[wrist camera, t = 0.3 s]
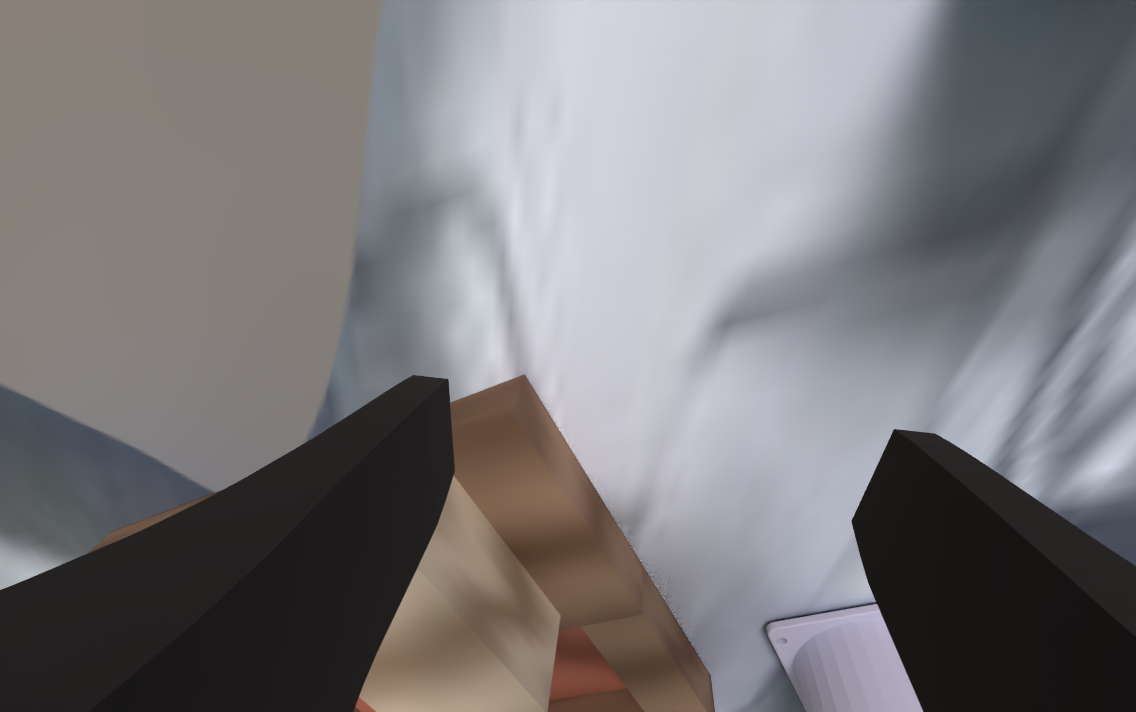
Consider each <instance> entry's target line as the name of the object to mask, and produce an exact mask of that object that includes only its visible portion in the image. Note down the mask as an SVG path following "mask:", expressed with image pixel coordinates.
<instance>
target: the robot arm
mask: <svg viewBox="0 0 1136 712" xmlns="http://www.w3.org/2000/svg"><path fill="white" fill-rule="evenodd" d="M454 473H455V464H454V450H453V437H452V423H451V409H450V396H449V382H448V379H443V378H434V377H425V376H416V375H413V376H411V377H409V378H408V379H406V380H404V381H402V382H401V383H399V384H397V385H396V386H394V387H393V388H391V389H389V390H388V391H386V392H385V393H383V394H382V395H380V396H379V397H377V398H376V399H374V400H372V401H371V402H369V403H368V404H366V405H365V406H363V407H362V408H360V409H359V410H357V411H355V412H354V413H352V414H351V415H349V416H348V417H346V418H344V419H343V420H341V421H340V422H338V423H337V424H335V425H333V426H332V427H330V428H329V429H327V430H325V431H324V432H322V433H321V434H319V435H318V436H316V437H314V438H313V439H311V440H310V441H308V442H306V443H305V444H303V445H301V446H299V447H298V448H296V449H294V450H293V451H291V452H289V453H288V454H286V455H284V456H282V457H280V458H279V459H277V460H275V461H273V462H272V463H270V464H268V465H267V466H265V467H263V468H261V469H260V470H258V471H256V472H254V473H253V474H251V475H249V476H248V477H246V478H244V479H242V480H241V481H239V482H237V483H235V484H233V485H231V486H229V487H228V488H226V489H224V490H222V491H220V492H218V493H216V494H214V495H212V496H210V497H208V498H206V499H205V500H203V501H201V502H199V503H197V504H195V505H193V506H191V507H188V508H186V509H184V510H182V511H180V512H178V513H176V514H174V515H172V516H170V517H168V518H166V519H164V520H162V521H160V522H158V523H156V524H154V525H152V526H149V527H147V528H145V529H143V530H141V531H139V532H136V533H134V534H132V535H130V536H128V537H125V538H123V539H121V540H118V541H116V542H114V543H111V544H109V545H107V546H104V547H102V548H100V549H97V550H95V551H93V552H90V553H88V554H86V555H83V556H81V557H79V558H76V559H74V560H72V561H69V562H67V563H65V564H62V565H60V566H58V567H55V568H53V569H51V570H48V571H46V572H44V573H41V574H39V575H37V576H34V577H32V578H30V579H27V580H25V581H22V582H20V583H17V584H15V585H12V586H10V587H7V588H5V589H2V590H0V712H354V709H355V706H356V704H357V701H358V698H359V696H360V693H361V690H362V687H363V685H364V682H365V680H366V678H367V675H368V673H369V671H370V668H371V666H372V664H373V661H374V659H375V657H376V654H377V652H378V650H379V648H380V646H381V644H382V641H383V639H384V637H385V635H386V633H387V631H388V629H389V627H390V625H391V623H392V620H393V618H394V616H395V614H396V612H397V610H398V608H399V606H400V604H401V602H402V599H403V597H404V595H405V593H406V591H407V589H408V587H409V585H410V583H411V581H412V578H413V576H414V574H415V572H416V570H417V568H418V566H419V564H420V562H421V559H422V557H423V555H424V553H425V551H426V549H427V547H428V544H429V542H430V540H431V538H432V536H433V534H434V531H435V529H436V527H437V525H438V522H439V519H440V516H441V513H442V510H443V507H444V504H445V502H446V498H447V495H448V492H449V489H450V486H451V483H452V479H453V476H454ZM852 525H853V529H854V533H855V537H856V541H857V545H858V549H859V553H860V556H861V560H862V563H863V566H864V570H865V573H866V577H867V580H868V583H869V585H870V588H871V590H872V593H873V595H874V598H875V600H876V603H877V604H873V605H867V606H861V607H856V608H850V609H844V610H839V611H833V612H827V613H822V614H816V615H810V616H805V617H799V618H793V619H787V620H782V621H776V622H772V623H770V624H768V625H767V627H766V629H767V634H768V637H769V639H770V641H771V643H772V645H773V647H774V649H775V651H776V653H777V655H778V657H779V659H780V661H781V663H782V665H783V667H784V669H785V671H786V673H787V674H788V676H789V678H790V680H791V682H792V684H793V686H794V688H795V690H796V692H797V694H798V696H799V698H800V700H801V702H802V704H803V706H804V709H805V712H1136V566H1135V565H1133V564H1132V563H1130V562H1129V561H1127V560H1125V559H1124V558H1122V557H1121V556H1119V555H1118V554H1116V553H1115V552H1113V551H1112V550H1110V549H1109V548H1107V547H1106V546H1104V545H1103V544H1101V543H1100V542H1098V541H1097V540H1095V539H1094V538H1092V537H1091V536H1089V535H1088V534H1086V533H1085V532H1083V531H1082V530H1080V529H1079V528H1077V527H1076V526H1074V525H1073V524H1072V523H1070V522H1069V521H1067V520H1066V519H1064V518H1063V517H1061V516H1060V515H1058V514H1057V513H1055V512H1054V511H1052V510H1051V509H1049V508H1048V507H1047V506H1045V505H1044V504H1042V503H1041V502H1039V501H1038V500H1036V499H1035V498H1033V497H1032V496H1030V495H1029V494H1028V493H1026V492H1025V491H1023V490H1022V489H1020V488H1019V487H1017V486H1016V485H1014V484H1013V483H1011V482H1010V481H1009V480H1007V479H1006V478H1004V477H1003V476H1001V475H1000V474H998V473H997V472H995V471H994V470H992V469H991V468H989V467H988V466H986V465H985V464H983V463H982V462H980V461H979V460H977V459H976V458H974V457H973V456H971V455H970V454H968V453H967V452H965V451H963V450H962V449H960V448H959V447H957V446H955V445H954V444H952V443H950V442H949V441H947V440H945V439H943V438H942V437H940V436H938V435H936V434H933V433H924V432H915V431H906V430H897V429H894V431H893V433H892V435H891V437H890V439H889V442H888V444H887V446H886V448H885V450H884V452H883V454H882V457H881V459H880V461H879V463H878V465H877V467H876V470H875V472H874V474H873V476H872V478H871V480H870V482H869V485H868V487H867V489H866V491H865V493H864V495H863V497H862V500H861V502H860V504H859V506H858V508H857V510H856V513H855V515H854V517H853V519H852Z"/></svg>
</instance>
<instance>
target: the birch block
mask: <svg viewBox="0 0 1136 712" xmlns="http://www.w3.org/2000/svg"><path fill="white" fill-rule="evenodd" d="M560 617H561V615H560V614H559V613H558V611H557V610H556V609H555V607H554V606H553V605H552V603H551V602H550V601H549V600H548V598H547V597H546V596H545V594H544V593H543V592H542V590H541V589H540V588H539V586H538V585H537V584H536V583H535V581H534V580H533V579H532V577H531V576H530V575H529V573H528V572H527V571H526V569H525V568H524V567H523V566H522V564H521V563H520V562H519V560H518V559H517V558H516V556H515V555H514V554H513V552H512V551H511V550H510V549H509V547H508V546H507V545H506V543H505V542H504V541H503V539H502V538H501V537H500V535H499V534H498V533H497V532H496V530H495V529H494V528H493V526H492V525H491V524H490V522H489V521H488V520H487V518H486V517H485V516H484V515H483V513H482V512H481V511H480V509H479V508H478V507H477V505H476V504H475V503H474V501H473V500H472V499H471V498H470V496H469V495H468V494H467V492H466V491H465V490H464V488H463V487H462V486H461V484H460V483H459V482H458V481H457V479H456V478H455V477H454V476H453V479H452V483H451V486H450V489H449V492H448V495H447V498H446V502H445V504H444V507H443V510H442V513H441V516H440V519H439V522H438V525H437V527H436V529H435V531H434V534H433V536H432V538H431V540H430V542H429V544H428V547H427V549H426V551H425V553H424V555H423V557H422V559H421V562H420V564H419V566H418V568H417V570H416V572H415V574H414V576H413V578H412V581H411V583H410V585H409V587H408V589H407V591H406V593H405V595H404V597H403V599H402V602H401V604H400V606H399V608H398V610H397V612H396V614H395V616H394V618H393V620H392V623H391V625H390V627H389V629H388V631H387V633H386V635H385V637H384V639H383V641H382V644H381V646H380V648H379V650H378V652H377V654H376V657H375V659H374V661H373V664H372V666H371V668H370V671H369V673H368V675H367V678H366V680H365V682H364V685H363V687H362V690H361V693H360V696H359V697H360V698H361V699H362V700H363V701H364V702H366V703H367V704H368V705H369V706H370V707H371V708H372V709H374V710H375V711H376V712H548V705H549V697H550V690H551V683H552V675H553V668H554V661H555V653H556V646H557V639H558V631H559V624H560Z"/></svg>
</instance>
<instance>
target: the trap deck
mask: <svg viewBox="0 0 1136 712" xmlns="http://www.w3.org/2000/svg"><path fill="white" fill-rule="evenodd" d="M450 409H451V423H452V437H453V450H454V464H455V473H454V477H455V478H456V479H457V481H458V482H459V483H460V484H461V486H462V487H463V488H464V490H465V491H466V492H467V494H468V495H469V496H470V498H471V499H472V500H473V501H474V503H475V504H476V505H477V507H478V508H479V509H480V511H481V512H482V513H483V515H484V516H485V517H486V518H487V520H488V521H489V522H490V524H491V525H492V526H493V528H494V529H495V530H496V532H497V533H498V534H499V535H500V537H501V538H502V539H503V541H504V542H505V543H506V545H507V546H508V547H509V549H510V550H511V551H512V552H513V554H514V555H515V556H516V558H517V559H518V560H519V562H520V563H521V564H522V566H523V567H524V568H525V569H526V571H527V572H528V573H529V575H530V576H531V577H532V579H533V580H534V581H535V583H536V584H537V585H538V586H539V588H540V589H541V590H542V592H543V593H544V594H545V596H546V597H547V598H548V600H549V601H550V602H551V603H552V605H553V606H554V607H555V609H556V610H557V611H558V613H559V614H560V615H561V617H560V624H559V631H558V639H557V646H556V653H555V661H554V668H553V675H552V683H551V690H550V697H549V705H548V712H715V708H714V699H713V691H712V682H711V675H710V674H709V672H708V671H707V669H706V667H705V666H704V664H703V663H702V661H701V659H700V658H699V656H698V654H697V653H696V651H695V650H694V648H693V646H692V645H691V643H690V641H689V640H688V638H687V637H686V635H685V633H684V632H683V630H682V629H681V627H680V625H679V624H678V622H677V620H676V619H675V617H674V616H673V614H672V612H671V611H670V609H669V607H668V606H667V604H666V603H665V601H664V599H663V598H662V596H661V595H660V593H659V591H658V590H657V588H656V586H655V585H654V583H653V582H652V580H651V578H650V577H649V575H648V573H647V572H646V570H645V569H644V567H643V565H642V564H641V562H640V561H639V559H638V557H637V556H636V554H635V552H634V551H633V549H632V548H631V546H630V544H629V543H628V541H627V539H626V538H625V536H624V535H623V533H622V531H621V530H620V528H619V527H618V525H617V523H616V522H615V520H614V518H613V517H612V515H611V514H610V512H609V510H608V509H607V507H606V505H605V504H604V502H603V501H602V499H601V497H600V496H599V494H598V493H597V491H596V489H595V488H594V486H593V484H592V483H591V481H590V480H589V478H588V476H587V475H586V473H585V471H584V470H583V468H582V467H581V465H580V463H579V462H578V460H577V459H576V457H575V455H574V454H573V452H572V450H571V449H570V447H569V446H568V444H567V442H566V441H565V439H564V437H563V436H562V434H561V433H560V431H559V429H558V428H557V426H556V425H555V423H554V421H553V420H552V418H551V416H550V415H549V413H548V412H547V410H546V408H545V407H544V405H543V403H542V402H541V400H540V399H539V397H538V395H537V394H536V392H535V391H534V389H533V387H532V386H531V384H530V382H529V381H528V379H527V378H526V376H525V375H522V376H520V377H517V378H514V379H512V380H509V381H506V382H504V383H501V384H499V385H496V386H493V387H491V388H488V389H486V390H483V391H480V392H478V393H475V394H472V395H470V396H467V397H465V398H462V399H459V400H457V401H454V402H451V403H450ZM218 492H220V491H218ZM218 492H216V493H218ZM216 493H213V494H211V495H208V496H205V497H203V498H200V499H197V500H195V501H192V502H190V503H187V504H184V505H182V506H179V507H177V508H174V509H171V510H169V511H166V512H163V513H161V514H158V515H156V516H153V517H150V518H148V519H145V520H142V521H140V522H137V523H135V524H132V525H129V526H127V527H124V528H122V529H119V530H116V531H114V532H111V533H110V534H109V535H108V536H106V537H105V538H104V539H103V540H102V541H101V542H100V543H99V544H98V545H97V546H95V547H94V548H93V549H92V550H91V551H90V552H93V551H95V550H97V549H100V548H102V547H104V546H107V545H109V544H111V543H114V542H116V541H118V540H121V539H123V538H125V537H128V536H130V535H132V534H134V533H136V532H139V531H141V530H143V529H145V528H147V527H149V526H152V525H154V524H156V523H158V522H160V521H162V520H164V519H166V518H168V517H170V516H172V515H174V514H176V513H178V512H180V511H182V510H184V509H186V508H188V507H191V506H193V505H195V504H197V503H199V502H201V501H203V500H205V499H206V498H208V497H210V496H212V495H214V494H216ZM90 552H89V553H90ZM354 712H376V711H375V710H374V709H372V708H371V707H370V706H369V705H368V704H367V703H366V702H364V701H363V700H362V699H361V698H360V697H359V698H358V701H357V704H356V706H355V709H354Z"/></svg>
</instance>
